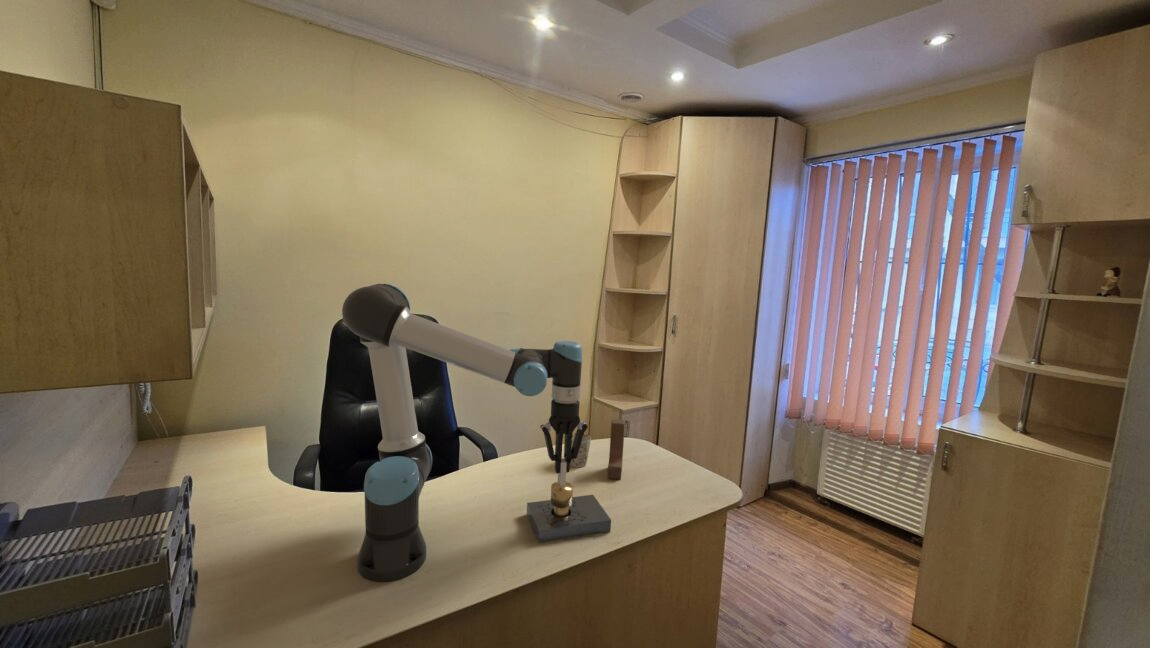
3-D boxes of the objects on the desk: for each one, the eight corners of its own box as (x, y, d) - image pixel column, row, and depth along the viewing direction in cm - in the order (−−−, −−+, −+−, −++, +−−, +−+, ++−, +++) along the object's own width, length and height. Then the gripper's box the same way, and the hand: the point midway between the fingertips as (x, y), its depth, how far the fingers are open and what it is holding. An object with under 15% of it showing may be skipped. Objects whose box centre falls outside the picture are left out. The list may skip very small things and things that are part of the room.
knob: (553, 531, 125) (554, 493, 124) (547, 519, 131) (548, 482, 130) (574, 528, 127) (576, 490, 126) (567, 516, 133) (569, 480, 131)
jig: (538, 543, 120) (538, 530, 120) (526, 514, 133) (527, 502, 133) (610, 531, 127) (611, 519, 126) (592, 505, 140) (592, 494, 139)
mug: (564, 467, 164) (565, 440, 163) (570, 453, 177) (571, 427, 175) (587, 470, 163) (589, 442, 162) (592, 455, 175) (593, 430, 174)
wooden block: (620, 480, 157) (623, 428, 154) (607, 478, 157) (610, 427, 155) (622, 468, 165) (625, 419, 163) (609, 467, 166) (612, 418, 164)
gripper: (545, 405, 119) (541, 492, 122) (593, 402, 123) (588, 487, 126) (538, 396, 126) (535, 479, 129) (583, 394, 130) (579, 474, 133)
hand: (561, 483), depth 128 cm, fingers closed
